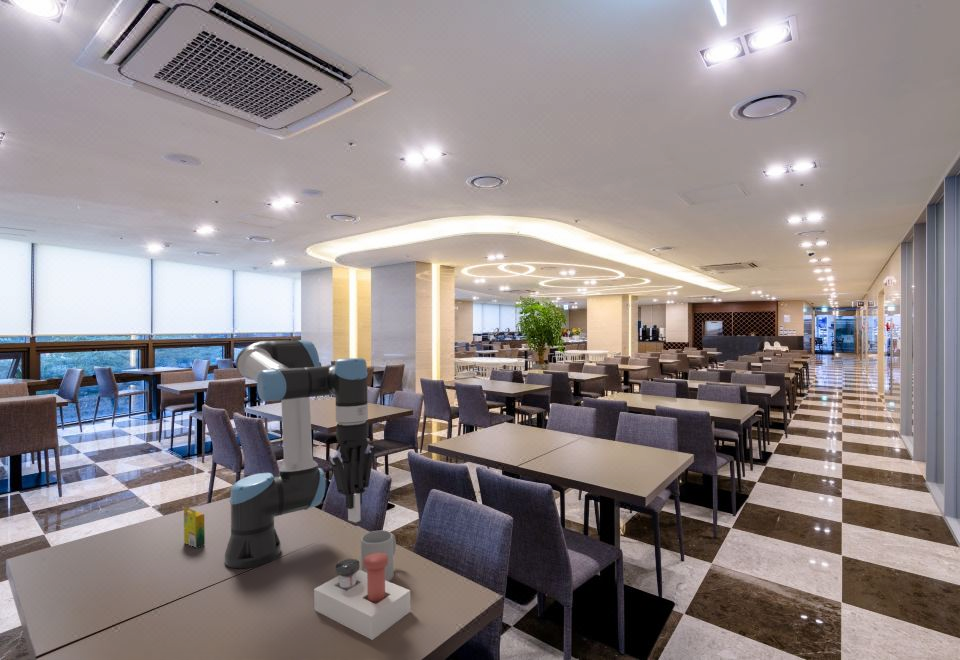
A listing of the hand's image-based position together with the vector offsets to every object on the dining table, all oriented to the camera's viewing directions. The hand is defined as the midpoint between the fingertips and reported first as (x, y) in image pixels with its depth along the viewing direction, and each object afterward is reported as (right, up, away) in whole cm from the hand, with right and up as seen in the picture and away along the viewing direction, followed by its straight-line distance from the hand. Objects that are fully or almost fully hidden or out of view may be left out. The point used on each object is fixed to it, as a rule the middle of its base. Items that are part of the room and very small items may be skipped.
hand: (354, 520), depth 110 cm
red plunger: (+6, -17, -4) cm, 18 cm away
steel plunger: (-2, -21, +2) cm, 21 cm away
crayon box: (-61, -23, +36) cm, 74 cm away
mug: (+3, -21, +15) cm, 27 cm away
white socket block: (+2, -21, -1) cm, 21 cm away
